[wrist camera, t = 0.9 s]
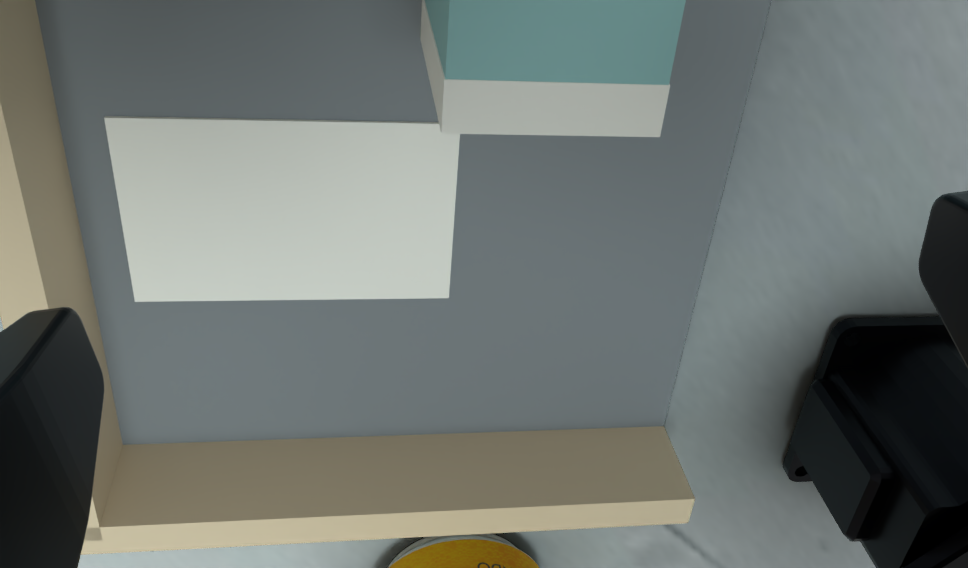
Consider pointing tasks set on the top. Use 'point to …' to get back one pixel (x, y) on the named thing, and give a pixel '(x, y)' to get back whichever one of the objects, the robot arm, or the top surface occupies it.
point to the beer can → (463, 553)
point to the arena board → (353, 272)
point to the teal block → (551, 65)
